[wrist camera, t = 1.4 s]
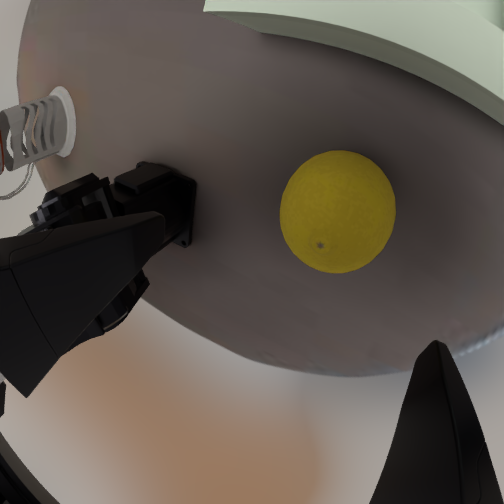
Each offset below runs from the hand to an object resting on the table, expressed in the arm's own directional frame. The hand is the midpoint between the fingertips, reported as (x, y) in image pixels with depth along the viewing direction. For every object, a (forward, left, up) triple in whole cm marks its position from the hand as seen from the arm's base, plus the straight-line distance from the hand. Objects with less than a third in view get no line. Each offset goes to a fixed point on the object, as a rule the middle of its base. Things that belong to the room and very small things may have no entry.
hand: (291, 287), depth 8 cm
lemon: (0, 0, -11) cm, 11 cm away
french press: (-3, +34, -11) cm, 36 cm away
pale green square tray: (+16, 0, -11) cm, 19 cm away
